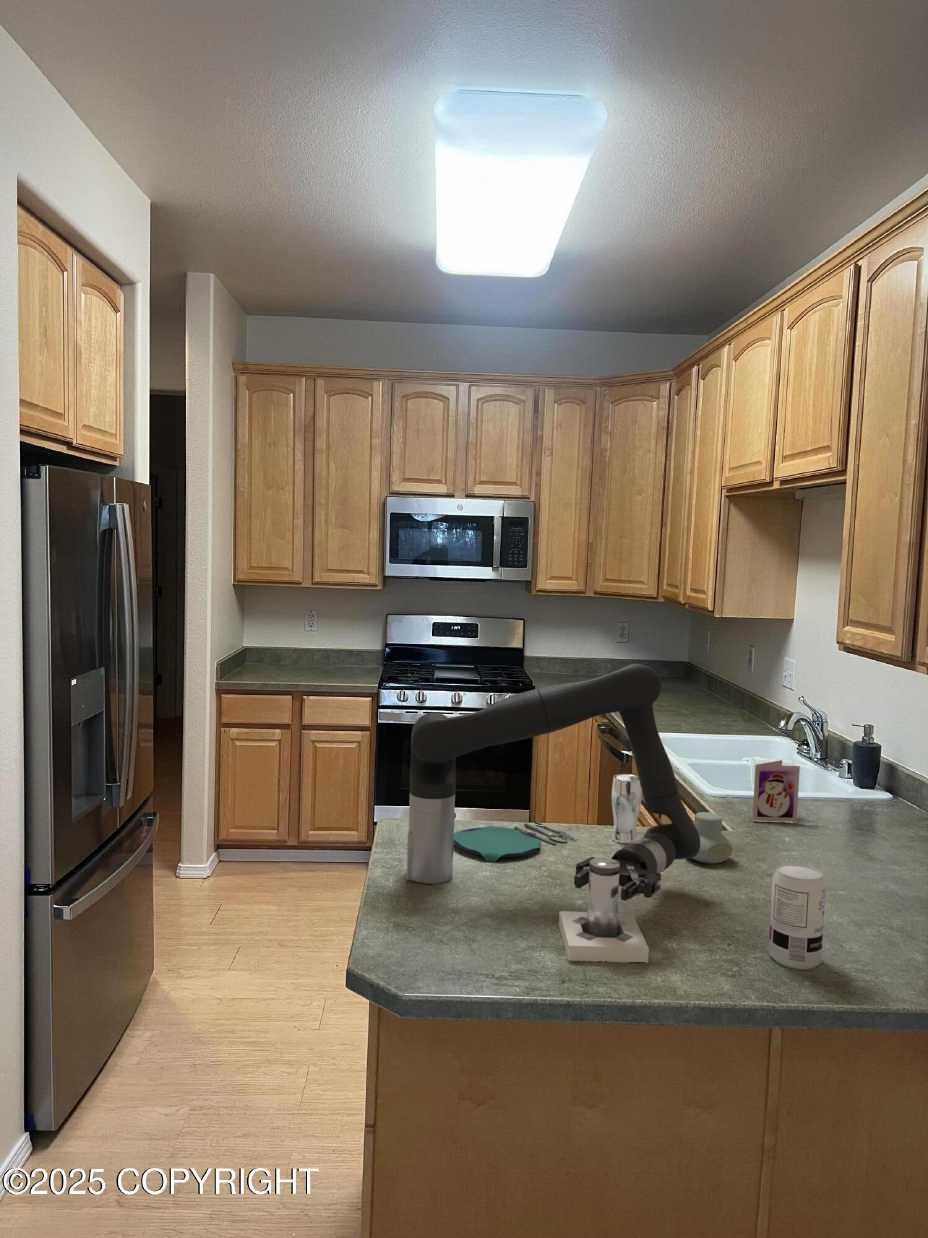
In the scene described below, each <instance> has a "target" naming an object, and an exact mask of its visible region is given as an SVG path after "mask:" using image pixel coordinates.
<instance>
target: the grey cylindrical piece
mask: <svg viewBox="0 0 928 1238" xmlns="http://www.w3.org/2000/svg"><path fill="white" fill-rule="evenodd" d="M589 870H590V873H589V883H588V899H587V902H588V903H587V912H588V921H587V934H590V935H592V936H595V937H602V938H615V937H617V914H618V913H619V911H618V909H619V891H620V890H619V888H620V885H619V873H620V863H619V862H618V861H616V860H613V859H611V858H609V857H594V859H591V860H590V861H589Z"/></svg>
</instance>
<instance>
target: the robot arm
mask: <svg viewBox="0 0 928 1238" xmlns="http://www.w3.org/2000/svg"><path fill="white" fill-rule="evenodd" d="M662 684H663V683H662V680H661V677H660V676H659V674H658V673H657V672H656V671H655V670H654V669H653V668H652V667H650V666H647V665H645V664H641V663H633V664H632V663H631V664H629V665H626V666H624V667H622V668H620V669H618V670H615V671H612V672H610V673H607V674H604V675H601V676H598V677H596V678H592V679H588V680H583V681H575V682H567V683H562V684H561V683H560V684H554V685H548V686H544V687H540V688H538V687H537V688H535V689H531V690H528V691H527V690H526V691H523V692H520V693H516V694H514V695H511V696H508V697H506V698H504V699H503V698H502V699H501V700H499V701H497V702H495V703H493V704H491V705H489V706H486V707H485V708H483V709H480V710H478V711H475V712H471V713H466V714H460V715H455V716H450V717H448V716H446V715H445V714H443V713H439V712H428V713H425V714H423V715H421V716H420V717H418V719H417V720H416V721H415V722H414V724H413V726H412V728H411V737H410V765H409V766H410V769H409V803H408V804H409V811H408V812H409V813H408V833H407V845H406V846H407V849H406V850H407V851H406V855H407V856H406V878H405V879H406V881H413V882H416V883H420V884H442V883H445V882H448V881H451V880H452V878H453V870H454V833H455V809H456V808H455V805H456V804H455V801H456V758H458V757H460V756H463V755H467V754H468V753H471V752H474V751H477V750H481V749H484V748H487V747H491V746H497V745H502V744H508V743H512V742H518V741H521V740H527V739H531V738H534V737H535V738H537V737H540V736H542V735H547V734H551V733H554V732H557V731H560V730H564V729H566V728H568V727H571V726H575V725H576V724H579V723H582V722H584V721H587V720H589V719H592V718H595V717H598V716H603V715H608V714H612V713H619V715H620V718H621V720H622V722H623V725H624V729H625V731H626V734H627V737H628V740H629V743H630V747H631V751H632V754H633V758H634V763H635V767H636V772H637V775H638V777H639V781H640V785H641V789H642V797H643V800H644V804H645V808H646V810H647V811H648V812H649V813H651V814H656V815H663V816H666V817H667V818H668V820H669V821H670V822H671V823H664V824H663V823H662V824H657V825H654V826H651V827H649V828H648V829H647V830H646V831H645V834H644V835H643V837H641V838H640V839H638V840H636V841H634V842H632V843H630V844H626V845H625V846H624V847H622V848H620V849H619V850H617V851H616V852H614V854H613V855H612V857H611V858H610V859H613V860H616V861H618V862H619V863H620V873H619V887H621V889H620V901H624V902H626V901H627V900H631V899H633V898H634V897H640V896H641V895H643V897H645V898H652V897H653V896H654V895H655V894H656V893H657V892H658V891H660V890H661V888H662V887H661V886H662V885H661V884H662V874H661V873H662V872H664V871H665V870H667V869H668V868H670V867H671V865H672V864H673V863H674V861H676V860H684V859H686V860H688V859H692V857H694V856H696V855H697V854H698V852H699V850H700V836H699V833H698V831H697V829H696V827H695V825H694V821H693V820H692V818H691V817H690V815H689V813H688V811H687V809H686V807H685V805H684V803H683V802H682V798H681V795H680V793H679V789H678V783H677V780H676V776H675V772H674V769H673V766H672V763H671V760H670V758H669V755H668V752H667V751H666V749H665V746H664V744H663V742H662V739H661V737H660V733H659V730H658V728H657V723H656V719H655V714H654V713H655V712H654V705H653V704H655V702H656V701H657V700H658V698H659V696H660V694H661V692H662V688H663V687H662ZM594 858H595V857H594V856H591V857H588V858H587V859H584V860H582V861H580V862H578V863H576V864H575V875H574V876H573V877H574V878H573V879H574V881H573V885H574V886H575V887H574V888H576V889H580V890H581V889H582V888H583V887H584V886H586V885H589V873H590V870H589V861H590V860H591V859H594Z"/></svg>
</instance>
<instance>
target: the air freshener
mask: <svg viewBox="0 0 928 1238" xmlns="http://www.w3.org/2000/svg"><path fill="white" fill-rule="evenodd" d="M693 823H694V825H695V827H696V829H697V831H698V833H699V836H700V850H699V852H698V854H697V855H696V856H694V857H692V858H691V859H692V860H694V861H696V862H699V863H703V864H707V863H708V864H709V865H717V864H719V863H722V862H725V861H726V860H727V859H729V858H730V857H731V856H732V854H733V848H734V847H733V844H732V842H731V841H730V839H728V837H727V836H726V835H724V834H722V830H723V817H722V816H721V815H720V814H718V813H714V812H709V811H707V812H706V811H702V812H701V811H700V812H697V813H695V814H694V821H693Z"/></svg>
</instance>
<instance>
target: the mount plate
mask: <svg viewBox="0 0 928 1238" xmlns="http://www.w3.org/2000/svg"><path fill="white" fill-rule="evenodd" d="M558 916H559V917H558V926H559V931H560V934H561V938H562V942H563V945H564V950H565V952H566V953H565V954H566V957H567V960H568V961H569V962H571V961H573V962H574V961H575V962H598V961H602V962H603V963H604V962H605V961H607V962H605V963H629V962H641V963H640V964H649V955H650V954H649V951H650V948H649V945H648V944H647V942H646V939H645V937H644V935H643V933H642V931H641V929H640V927H639V924H638V923H637V921H636V919H635V916H634V915H633V913H632V912H631V913H629V912H627V913H626V912H625V913H624V912H618V914H617V937H615V938H602V937H595V936H592V935H590V934H587V921H588V911H569V910H566V911H564V910H561V911H559V914H558ZM602 962H601V963H602ZM642 962H644V963H642ZM645 962H646V963H645Z"/></svg>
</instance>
